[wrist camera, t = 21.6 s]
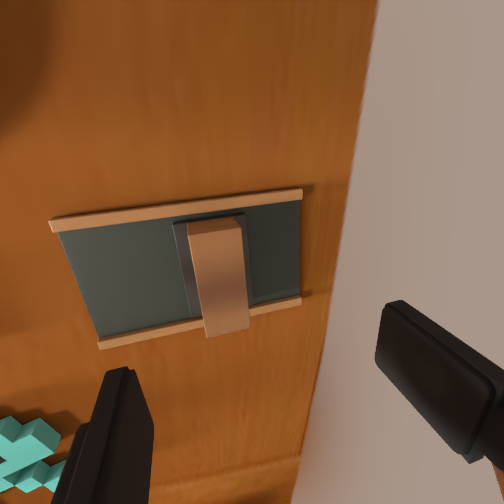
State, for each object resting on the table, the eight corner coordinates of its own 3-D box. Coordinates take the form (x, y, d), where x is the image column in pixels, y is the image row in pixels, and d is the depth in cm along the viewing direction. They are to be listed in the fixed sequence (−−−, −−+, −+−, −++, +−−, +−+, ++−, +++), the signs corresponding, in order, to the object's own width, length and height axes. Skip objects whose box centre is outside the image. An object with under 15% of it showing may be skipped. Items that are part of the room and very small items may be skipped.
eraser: (172, 221, 28) (170, 237, 23) (243, 211, 30) (256, 225, 25) (190, 312, 33) (192, 341, 28) (251, 299, 34) (263, 325, 29)
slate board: (53, 217, 25) (47, 220, 24) (298, 187, 31) (302, 188, 30) (102, 342, 32) (100, 350, 30) (298, 299, 37) (302, 304, 36)
